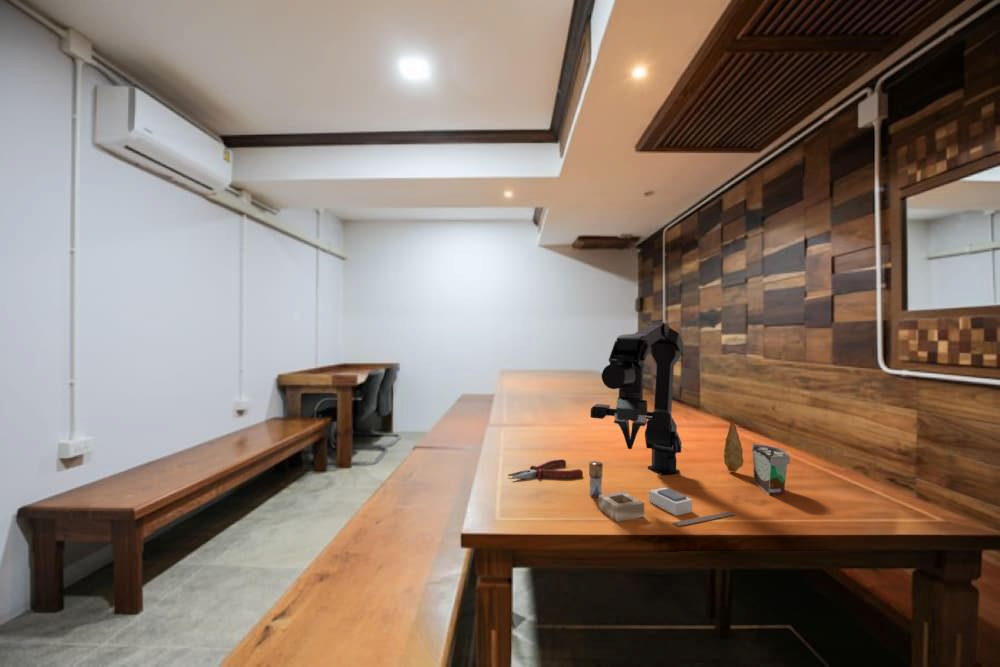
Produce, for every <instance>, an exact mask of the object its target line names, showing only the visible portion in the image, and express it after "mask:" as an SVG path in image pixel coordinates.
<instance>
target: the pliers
mask: <svg viewBox="0 0 1000 667" xmlns="http://www.w3.org/2000/svg"><path fill="white" fill-rule="evenodd" d="M566 465H567V461H566V460H565V459H554V460H549V461H546V462H544V463H542V464H540V465H537V466H535V465H532V466H530V468H528V469H524V470H520V471H516V472H513V473H509V474H507V476H508V477H511V479H512V480H515V479H516V480H520V479H522V480H523V479H524V480H525V479H529V480H530V479H533V478H537V477H538V478H537V479H538V480H541V479H555V480H560V479H561V480H573V479H578V478H580V479H581V478H582V477H583V476H584V473H583V470H582V469H580V468H578V469H577V468H576V469H571V470H559V469H555V468H561V466H563V467H566Z"/></svg>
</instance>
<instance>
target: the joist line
mask: <svg viewBox="0 0 1000 667" xmlns="http://www.w3.org/2000/svg"><path fill="white" fill-rule="evenodd" d="M735 515H736V514H735V513H733V512H731V511H725V512H720V513H715V514H710V515H706V516H704V515H703V516H699V517H694V518H691V519H684V520H680V521H675V522H672V524H673V526H675V527H678V528H679V527H683V526H689V525H694V524H699V523H704V522H709V521H713V520H718V519H723V518H728V517H733V516H735Z"/></svg>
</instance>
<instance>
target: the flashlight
mask: <svg viewBox="0 0 1000 667" xmlns="http://www.w3.org/2000/svg"><path fill="white" fill-rule="evenodd" d="M603 464H604V463H602V462H601V461H596V460H595V461H593V460H592V461H589V462H588V467H589V468H588V471H589V472H588V476H589V496H590V497H591V498H595V499H599V495H603V493H602V492H603V490H602V489H603V488H602V484H603V482H602V480H603V479H602V478H603V468H604V467H603Z"/></svg>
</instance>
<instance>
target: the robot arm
mask: <svg viewBox="0 0 1000 667" xmlns="http://www.w3.org/2000/svg"><path fill="white" fill-rule="evenodd" d="M683 349H684V342H683V339H682V337H681V335H680V333H679V332H678V331H676V330H674V329H672V328H671V327H670V326H669V324H668V323H666V322H650V323H648V324H647V326H645V327H643V328H641V329H640V330H638V331H637V332H635V333H629V334H628V333H627V334H626V333H625V334H620V335H618V336H617V338H616V340H615V341H614V344H613V346H612V349H611V351H610V355H609V358H608V362H609V364H608V365H606V366H605V367H604V369H603V370H602V371H601V372H602V373H601V381H602V383H603V385H605V387H607V388H609V389H611V390H616V389H617V390H618V398H617V401H616V405H615V408H611V407H610V404H602V403H596V404H595V405H593V406H592V407H591V408H590V418H592V419H601V420H603V419H605V417H606V416H608V417H609V416H610V417H614V420H613V424H617V425H618V426H619V428H620V430H621V431H622V434H623V438H624V440H625V444H626V447H627V449H628V450H632V449H633V447H634V442H635V440H636V437H637V436H638V435H637V434H638V433H639V430H640V428H641V427H645V426H646V427H645V431H644V440H645V445H646V449H651V465H647V469H650V470H652V471H654V472H655V473H657V474H660V475H662V476H663V475H670V474H676V473H678V474H679V473H680V469H678V468H677V457H676V456H677V454H681V453H682V444H683V443H682V440H681V438H680V436H679V433H678V432H677V429H678V428H677V427H678V426H677V424H676V422H675V420H674V418H673V417H672V410H673V409H672V408H673V407H672V406H673V392H674V391H673V390H674V389H673V388H674V387H673V386H674V374H675V373H674V369H675V365H676V363H677V362H678V361H679V360H680V358H681V356H682V351H683ZM650 351H651V356H652V358H653V360H654V362H655V364H656V369H655V370H656V374H655V389H654V402H653V403H654V407H653V411H648V400H646V399H644V367H646V364H645V361H646V358H647V357H648V354H649V353H650ZM630 421H631V422H632V424H631V432H630Z"/></svg>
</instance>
